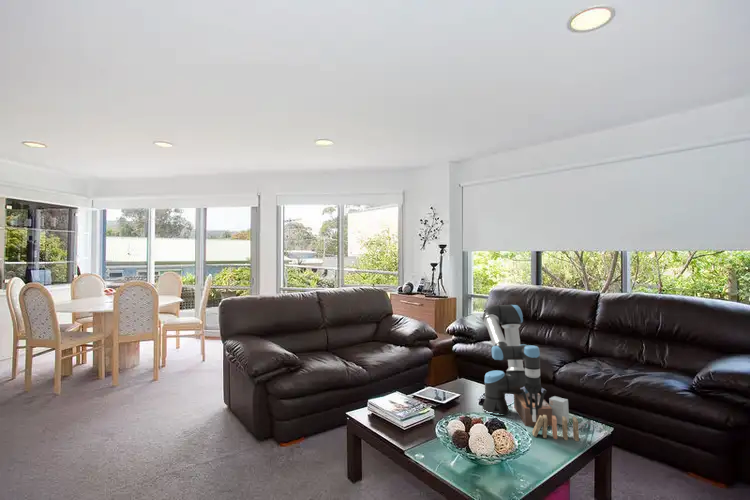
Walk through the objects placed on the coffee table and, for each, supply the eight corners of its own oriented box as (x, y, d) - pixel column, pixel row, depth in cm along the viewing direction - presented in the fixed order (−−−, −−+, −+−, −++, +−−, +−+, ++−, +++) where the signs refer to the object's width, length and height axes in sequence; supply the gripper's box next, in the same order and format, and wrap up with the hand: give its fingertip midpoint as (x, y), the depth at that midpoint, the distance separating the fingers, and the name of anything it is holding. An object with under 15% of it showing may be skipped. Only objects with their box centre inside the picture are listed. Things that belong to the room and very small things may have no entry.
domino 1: (533, 435, 204) (541, 418, 203) (532, 431, 209) (539, 414, 208) (536, 437, 204) (544, 420, 203) (535, 432, 209) (542, 416, 208)
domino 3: (564, 439, 200) (563, 420, 200) (562, 435, 205) (562, 416, 205) (567, 440, 200) (567, 420, 200) (566, 435, 204) (565, 416, 204)
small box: (569, 422, 220) (568, 399, 220) (563, 426, 216) (563, 402, 216) (555, 418, 226) (554, 395, 226) (549, 421, 222) (548, 398, 222)
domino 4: (575, 441, 199) (574, 421, 199) (573, 436, 203) (572, 417, 203) (578, 441, 198) (578, 421, 198) (576, 436, 203) (576, 417, 203)
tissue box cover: (552, 426, 216) (551, 408, 216) (525, 426, 217) (524, 408, 218) (538, 408, 241) (537, 392, 242) (514, 407, 243) (513, 391, 243)
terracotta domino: (553, 438, 201) (553, 419, 202) (552, 434, 206) (551, 415, 206) (557, 439, 201) (556, 419, 201) (555, 434, 206) (555, 415, 206)
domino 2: (543, 437, 203) (544, 418, 203) (542, 433, 208) (543, 414, 208) (546, 438, 202) (547, 419, 202) (545, 433, 207) (546, 415, 207)
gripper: (520, 377, 205) (521, 422, 205) (547, 378, 201) (548, 425, 201) (519, 373, 212) (520, 416, 212) (545, 374, 208) (546, 419, 208)
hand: (534, 420), depth 206 cm, fingers closed
